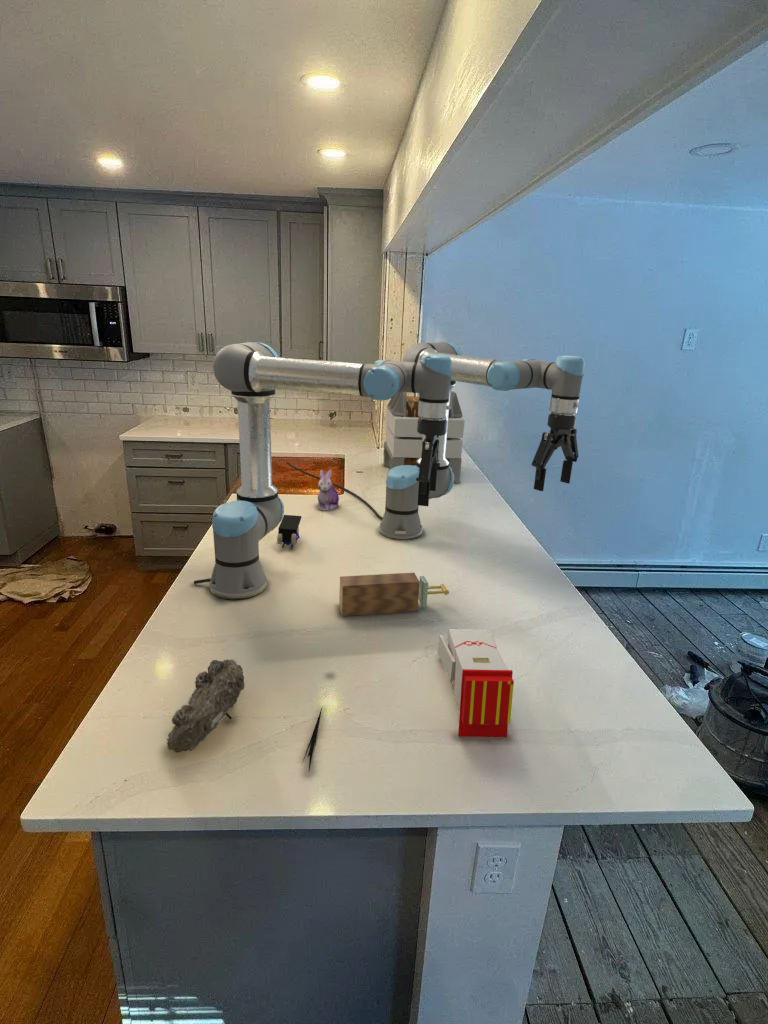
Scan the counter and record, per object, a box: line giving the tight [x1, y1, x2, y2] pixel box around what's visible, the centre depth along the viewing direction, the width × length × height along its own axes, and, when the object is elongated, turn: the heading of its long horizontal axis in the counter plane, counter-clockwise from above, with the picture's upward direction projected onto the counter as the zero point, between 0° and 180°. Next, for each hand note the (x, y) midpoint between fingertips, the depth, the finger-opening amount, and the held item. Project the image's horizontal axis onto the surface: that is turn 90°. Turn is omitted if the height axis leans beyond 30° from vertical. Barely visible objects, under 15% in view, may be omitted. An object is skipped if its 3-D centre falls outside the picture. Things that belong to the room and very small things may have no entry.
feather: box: [301, 673, 332, 771], centre depth 108 cm, size 2×28×2 cm
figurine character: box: [276, 514, 303, 550], centre depth 187 cm, size 7×8×15 cm
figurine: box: [317, 468, 340, 511], centre depth 220 cm, size 9×10×15 cm
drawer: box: [418, 575, 450, 607], centre depth 150 cm, size 25×4×7 cm, turn 102°
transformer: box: [383, 390, 465, 484], centre depth 268 cm, size 34×33×41 cm
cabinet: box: [338, 572, 420, 617], centre depth 148 cm, size 20×5×9 cm, turn 102°
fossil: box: [166, 658, 245, 754], centre depth 106 cm, size 22×10×15 cm
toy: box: [437, 628, 515, 738], centre depth 117 cm, size 12×13×30 cm
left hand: (426, 497), depth 151 cm, fingers open, 13 cm apart
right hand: (551, 486), depth 165 cm, fingers open, 13 cm apart
